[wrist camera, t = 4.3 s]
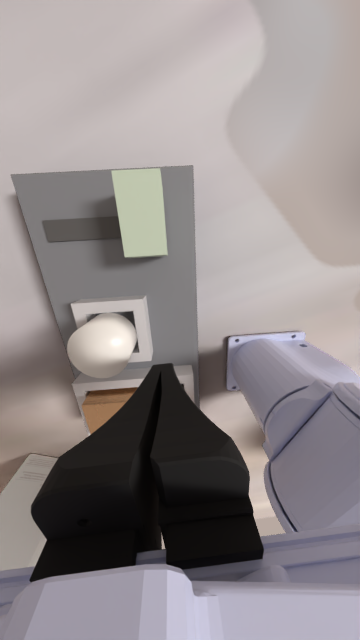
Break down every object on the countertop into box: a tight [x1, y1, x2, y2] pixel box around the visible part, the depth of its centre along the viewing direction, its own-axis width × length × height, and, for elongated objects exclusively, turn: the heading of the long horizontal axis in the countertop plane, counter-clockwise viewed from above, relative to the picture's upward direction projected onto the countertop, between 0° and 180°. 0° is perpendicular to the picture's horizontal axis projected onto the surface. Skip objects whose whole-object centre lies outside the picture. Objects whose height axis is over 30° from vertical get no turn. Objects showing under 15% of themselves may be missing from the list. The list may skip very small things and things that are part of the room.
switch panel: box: [11, 165, 200, 436], centre depth 18 cm, size 14×26×4 cm, turn 3°
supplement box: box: [0, 454, 58, 571], centre depth 22 cm, size 7×7×13 cm
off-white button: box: [67, 313, 137, 378], centre depth 14 cm, size 4×4×3 cm
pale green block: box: [111, 168, 168, 258], centre depth 13 cm, size 3×5×3 cm, turn 3°
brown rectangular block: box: [81, 387, 138, 434], centre depth 19 cm, size 10×5×3 cm, turn 93°
